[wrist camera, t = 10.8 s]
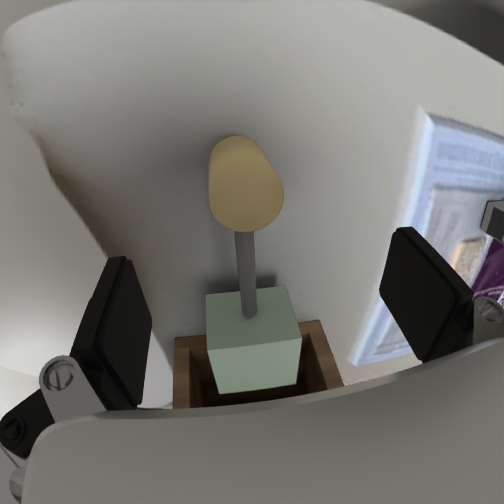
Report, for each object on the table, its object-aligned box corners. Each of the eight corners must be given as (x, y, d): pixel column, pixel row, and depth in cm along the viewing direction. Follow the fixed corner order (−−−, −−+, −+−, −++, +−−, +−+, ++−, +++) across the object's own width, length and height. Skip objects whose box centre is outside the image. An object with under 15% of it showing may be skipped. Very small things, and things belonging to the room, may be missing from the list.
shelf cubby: (304, 394, 43) (326, 473, 31) (203, 407, 41) (209, 490, 30) (319, 319, 32) (360, 433, 21) (175, 337, 31) (172, 461, 20)
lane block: (283, 335, 30) (296, 386, 25) (215, 343, 30) (219, 396, 25) (287, 131, 19) (318, 159, 13) (180, 140, 18) (167, 172, 13)
